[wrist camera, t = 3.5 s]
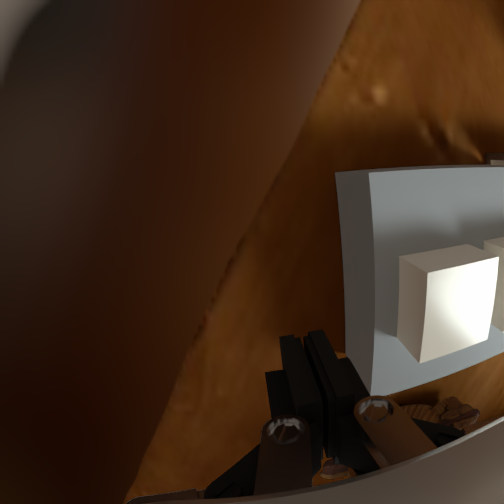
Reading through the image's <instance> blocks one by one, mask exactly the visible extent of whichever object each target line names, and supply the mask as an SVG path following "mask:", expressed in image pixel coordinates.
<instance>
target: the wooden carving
mask: <svg viewBox="0 0 504 504" xmlns="http://www.w3.org/2000/svg"><path fill="white" fill-rule="evenodd" d="M400 407H401V409H402V410H403V411H404V412H405V413H406V414H407V415H408V416H409V417H411V418H416V419H420V420H424V421H428V422H433V423H437V424H442V425H446V426H451V427H454V428H457V429H459V430H462V427H463V426H466V425H470V424H474V423H476V420H477V419H478V417H479V415H480V412H479V410H478V409H473V408H472V407H471V406H470V405H468V404H465V405H463V404H462V403H461V402H460V401H459V400H458V399H457V398H455V397H449V398H446V399H444V400H442V401H441V402H440V403H438V404H437V405H436V406H434V407H433V408H432V407H431V406H429V405H423V404H412V405H404V406H400ZM320 476H321V477H323V478H326V479H335V478H338V477H343V476H348V477H349V478H352V477H351V476H350V474H349V471H348V467H347V466H344V465H342V464H336V465H334V462H333V458H332V459H330V460H328V461H326V462H325V464H324V466H323V471H322V472H321V473H320Z"/></svg>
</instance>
